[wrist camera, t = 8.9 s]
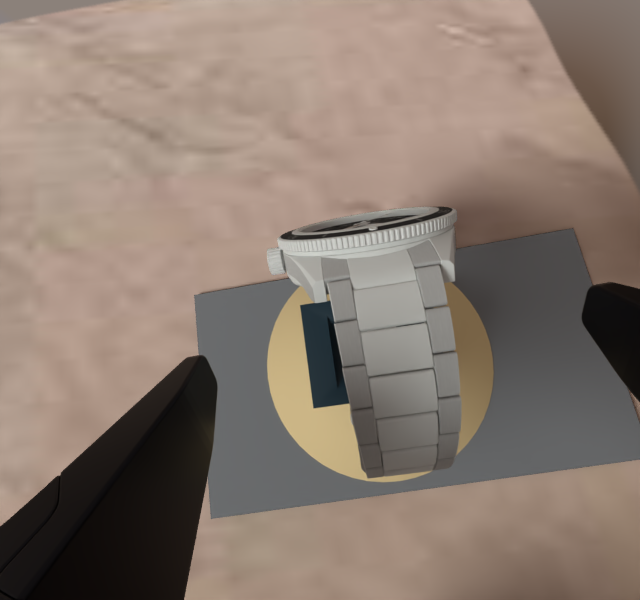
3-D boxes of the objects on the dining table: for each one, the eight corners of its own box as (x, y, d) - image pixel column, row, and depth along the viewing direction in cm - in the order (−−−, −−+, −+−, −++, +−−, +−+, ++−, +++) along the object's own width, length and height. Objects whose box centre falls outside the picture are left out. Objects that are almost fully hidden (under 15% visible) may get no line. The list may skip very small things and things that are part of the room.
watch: (408, 264, 19) (479, 108, 8) (442, 426, 17) (592, 504, 6) (302, 281, 19) (235, 154, 8) (323, 442, 17) (271, 542, 7)
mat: (646, 456, 16) (653, 458, 16) (213, 516, 17) (210, 519, 17) (566, 221, 19) (570, 218, 18) (196, 287, 20) (192, 285, 20)
